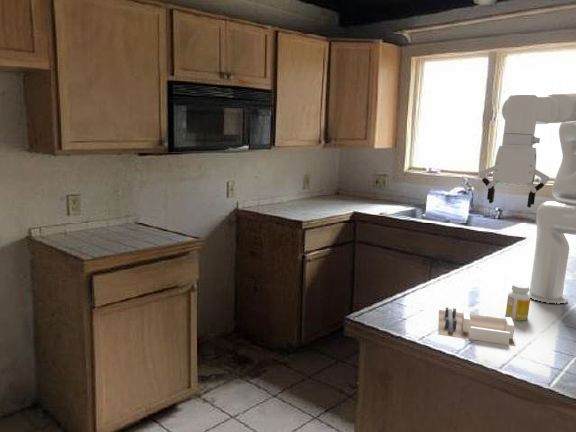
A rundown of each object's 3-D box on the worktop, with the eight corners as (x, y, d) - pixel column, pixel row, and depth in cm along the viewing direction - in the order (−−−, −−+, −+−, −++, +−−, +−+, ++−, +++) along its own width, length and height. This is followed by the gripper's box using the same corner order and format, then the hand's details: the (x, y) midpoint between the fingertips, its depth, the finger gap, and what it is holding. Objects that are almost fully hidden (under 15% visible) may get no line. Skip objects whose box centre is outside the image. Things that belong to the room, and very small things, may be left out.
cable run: (445, 312, 143) (445, 305, 143) (454, 313, 142) (455, 306, 142) (445, 333, 128) (445, 324, 128) (456, 334, 127) (457, 326, 127)
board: (438, 312, 145) (439, 309, 145) (505, 321, 140) (506, 319, 140) (438, 337, 127) (438, 334, 127) (514, 349, 122) (515, 345, 122)
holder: (461, 323, 135) (463, 310, 135) (509, 330, 132) (511, 317, 131) (463, 338, 125) (464, 324, 125) (515, 345, 122) (516, 332, 121)
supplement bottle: (502, 320, 142) (506, 285, 140) (509, 315, 146) (513, 281, 144) (523, 325, 138) (527, 290, 136) (530, 320, 142) (534, 286, 140)
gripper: (555, 143, 133) (546, 207, 135) (486, 140, 141) (479, 200, 144) (553, 143, 126) (543, 210, 129) (481, 139, 135) (473, 202, 138)
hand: (509, 204), depth 136 cm, fingers open, 9 cm apart
